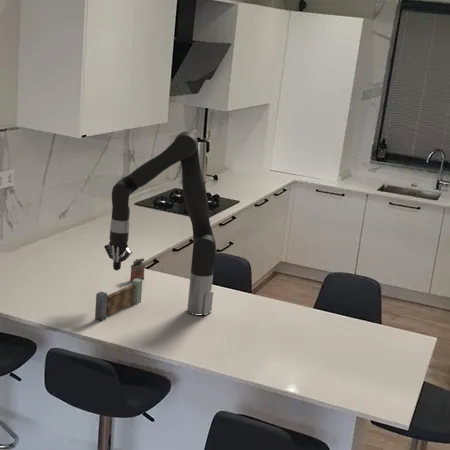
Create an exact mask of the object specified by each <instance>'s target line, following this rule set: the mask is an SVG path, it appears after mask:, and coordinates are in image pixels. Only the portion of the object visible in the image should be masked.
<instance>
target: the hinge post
mask: <svg viewBox="0 0 450 450" xmlns="http://www.w3.org/2000/svg"><path fill="white" fill-rule="evenodd" d="M107 295H108V292H105V291H99V292H97V293H96V294H95V311H94V313H95V315H94V320H95V321H97V320H98V321H97V322H100V321H102V322H104V321H106V320H107V315H106V309H107ZM105 319H106V320H105ZM103 320H104V321H103Z"/></svg>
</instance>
